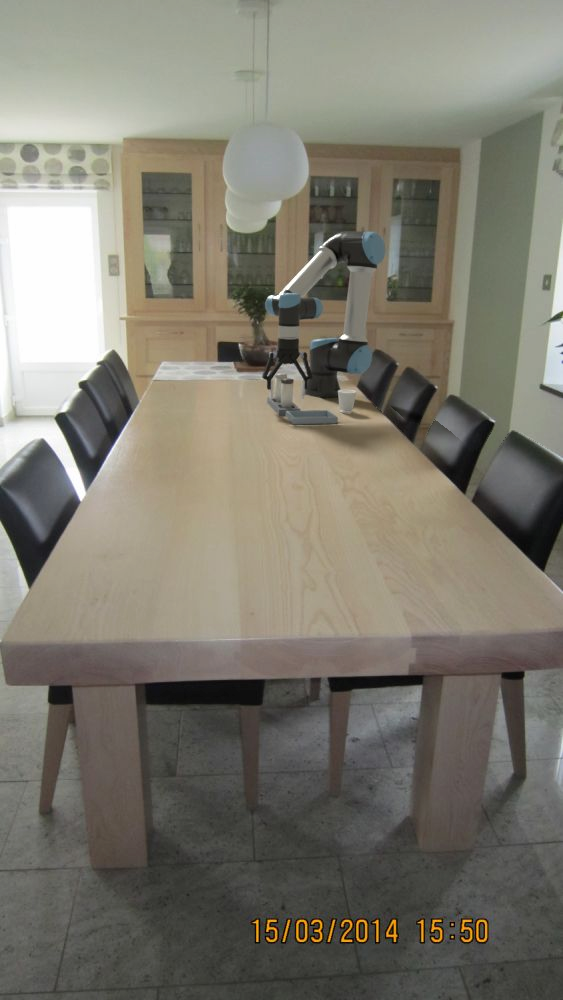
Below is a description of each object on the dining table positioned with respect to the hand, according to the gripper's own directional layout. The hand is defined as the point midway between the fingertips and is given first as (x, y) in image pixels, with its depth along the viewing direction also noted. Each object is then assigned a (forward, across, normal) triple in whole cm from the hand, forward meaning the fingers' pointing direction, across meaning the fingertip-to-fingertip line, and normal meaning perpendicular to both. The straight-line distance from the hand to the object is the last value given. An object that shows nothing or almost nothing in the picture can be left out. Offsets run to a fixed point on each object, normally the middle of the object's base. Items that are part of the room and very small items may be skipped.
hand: (286, 398), depth 276 cm
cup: (+6, -23, 0) cm, 24 cm away
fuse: (+5, 0, -11) cm, 12 cm away
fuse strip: (+6, 0, -6) cm, 8 cm away
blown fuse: (+5, 0, 0) cm, 5 cm away
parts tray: (+6, -6, +14) cm, 16 cm away
